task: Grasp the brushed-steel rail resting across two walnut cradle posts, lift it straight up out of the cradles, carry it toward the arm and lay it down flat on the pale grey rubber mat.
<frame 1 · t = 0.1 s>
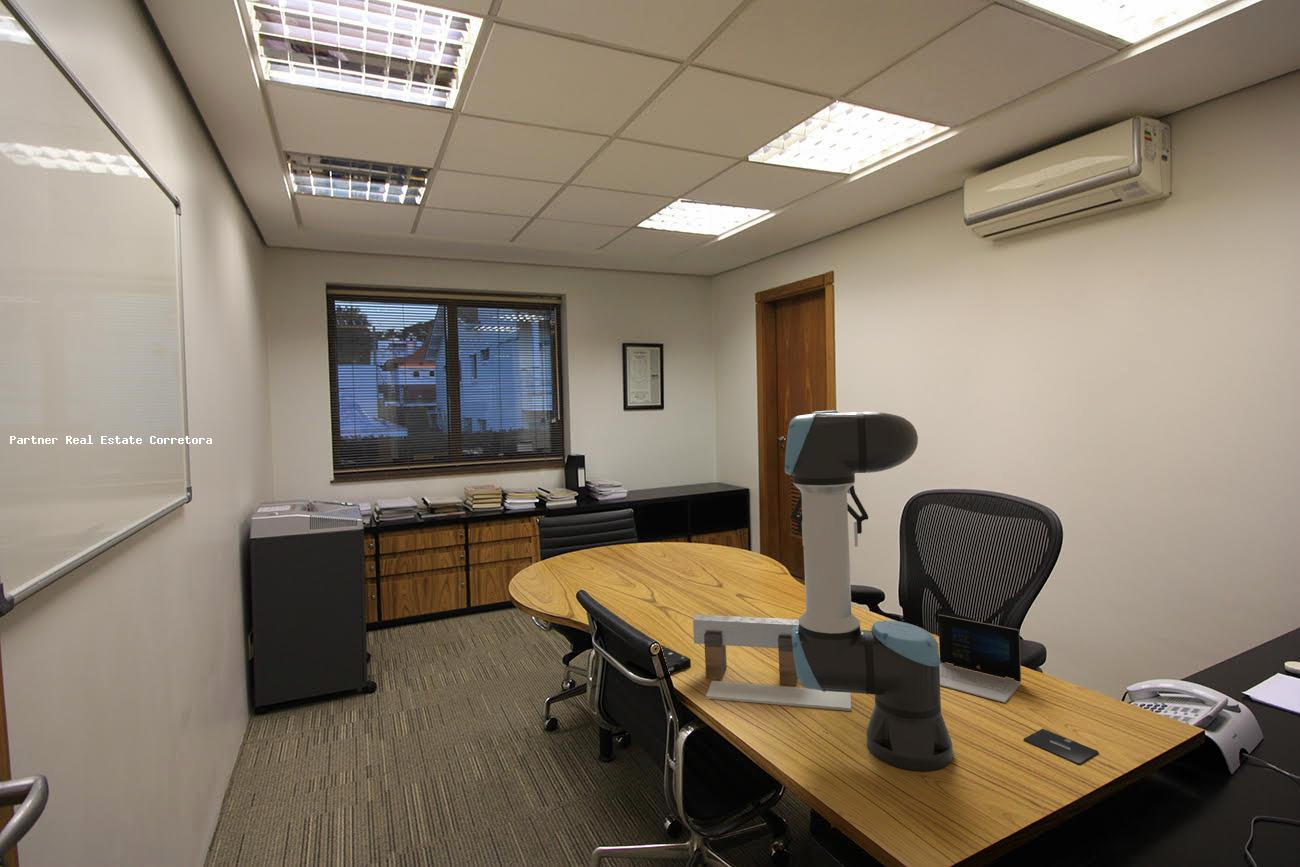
hand: (830, 545, 167), 28 cm above the table, fingers open, 13 cm apart
solid state drive: (1060, 749, 115), on the table
standard B: (716, 672, 155), on the table
rail: (750, 643, 152), point 8 cm above the table, touching standard A, standard B
disk drive: (659, 666, 162), on the table
laptop: (970, 684, 143), on the table
standard A: (789, 678, 150), on the table
mat: (777, 696, 141), on the table
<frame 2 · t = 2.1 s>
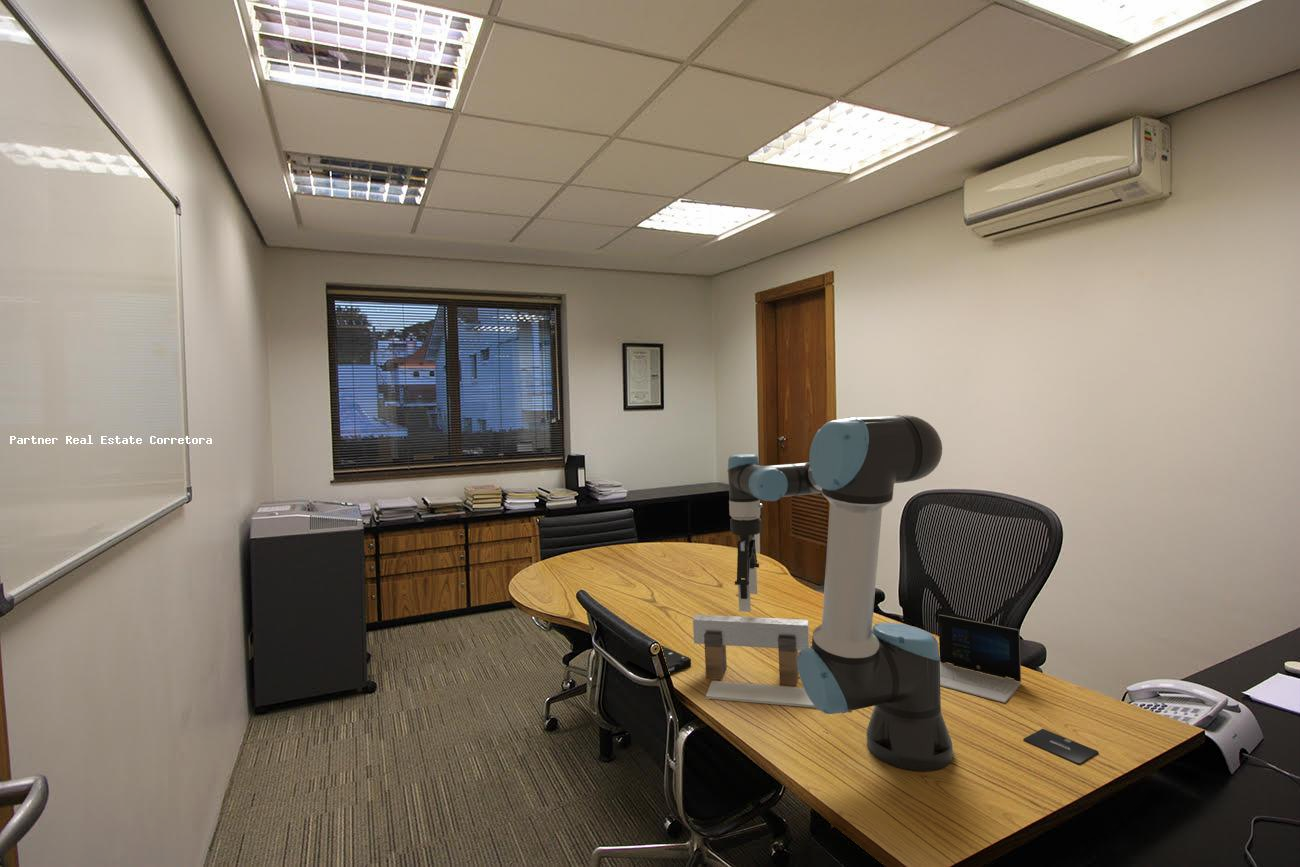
hand: (748, 602, 152), 18 cm above the table, fingers open, 13 cm apart
nothing on the table moved.
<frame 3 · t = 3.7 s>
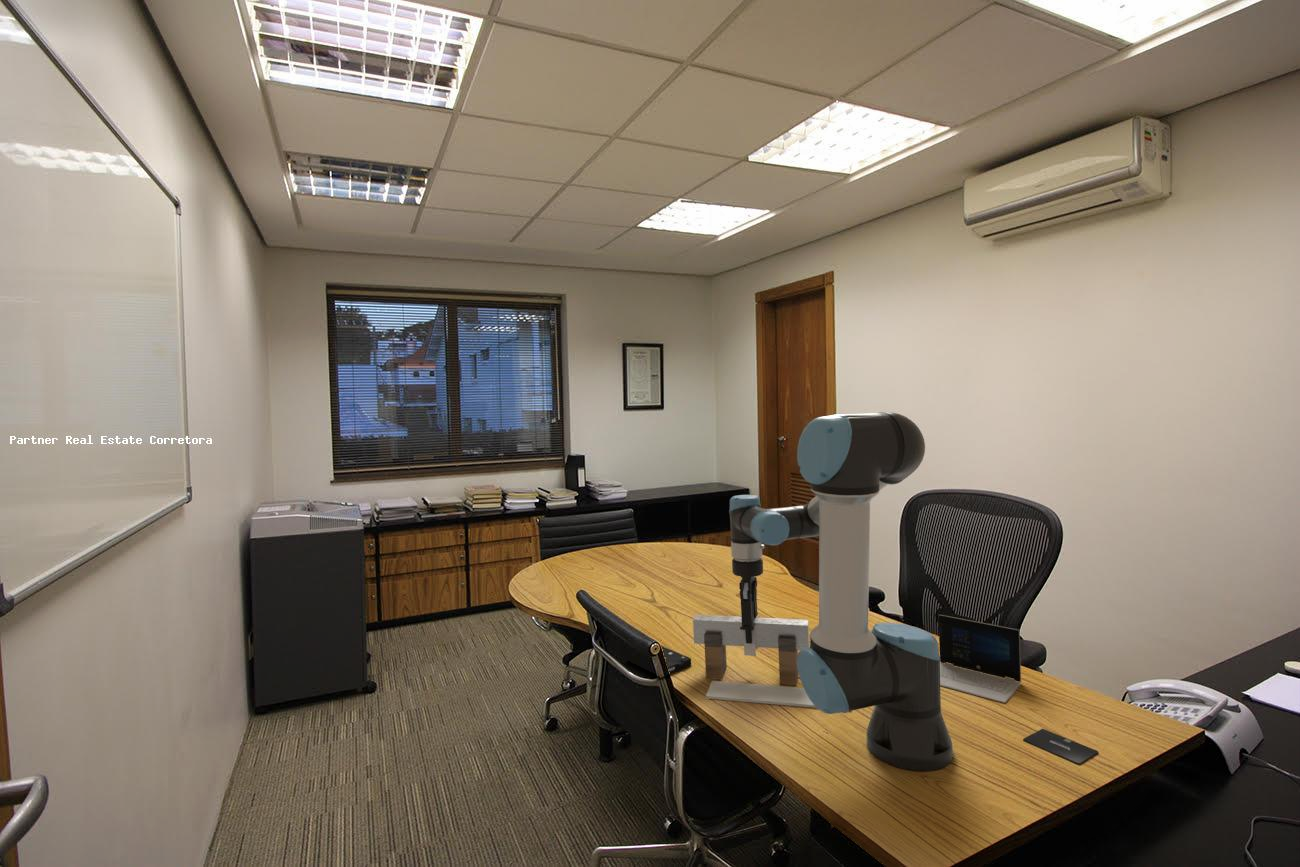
hand: (751, 651, 152), 6 cm above the table, fingers closed on rail, 4 cm apart
rail: (750, 643, 152), point 8 cm above the table, touching gripper, standard A, standard B
everything else where it was.
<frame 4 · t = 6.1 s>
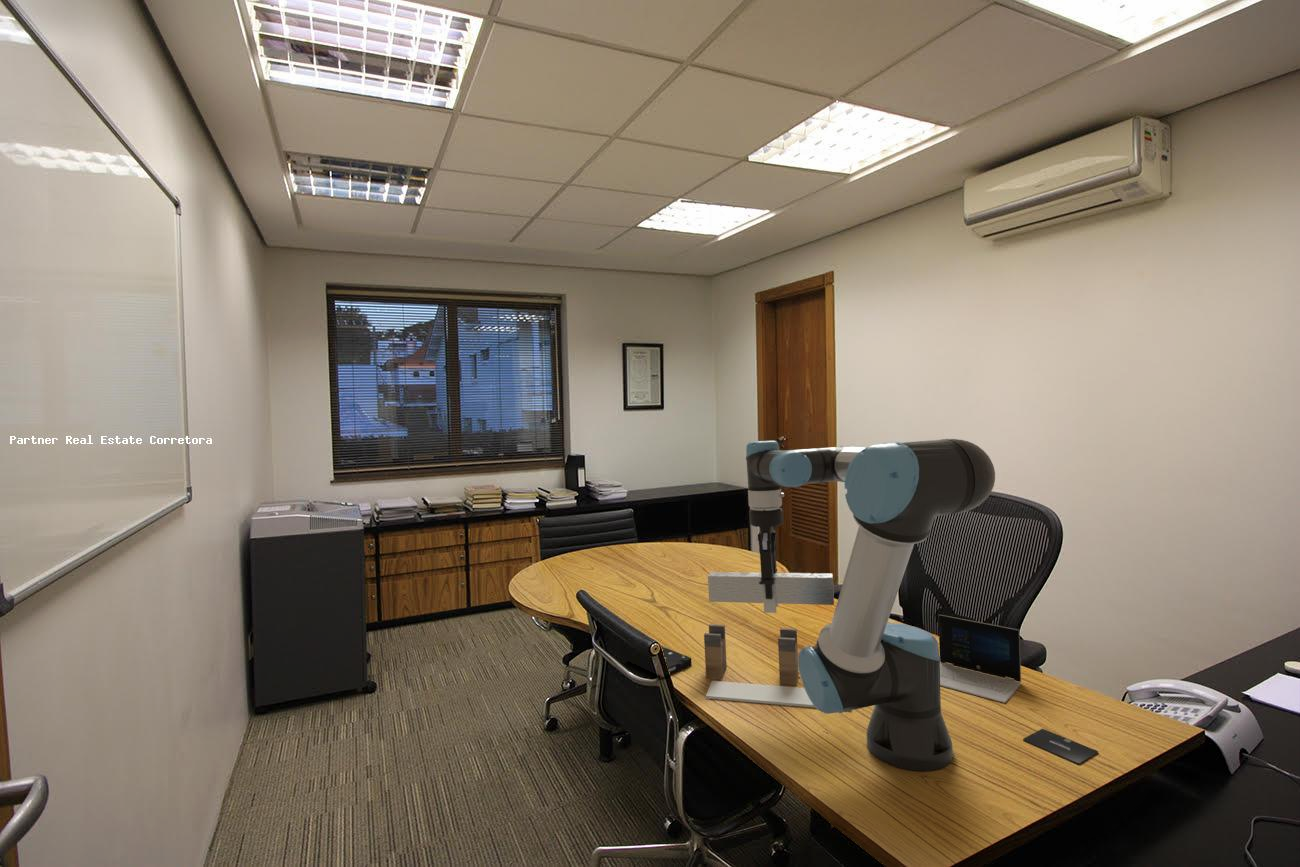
hand: (771, 608, 141), 20 cm above the table, fingers closed on rail, 4 cm apart
rail: (770, 600, 141), point 22 cm above the table, touching gripper
everything else where it was.
when the fingers open (1 cm above the table, at t = 8.8 s): rail drops 3 cm, resting on mat.
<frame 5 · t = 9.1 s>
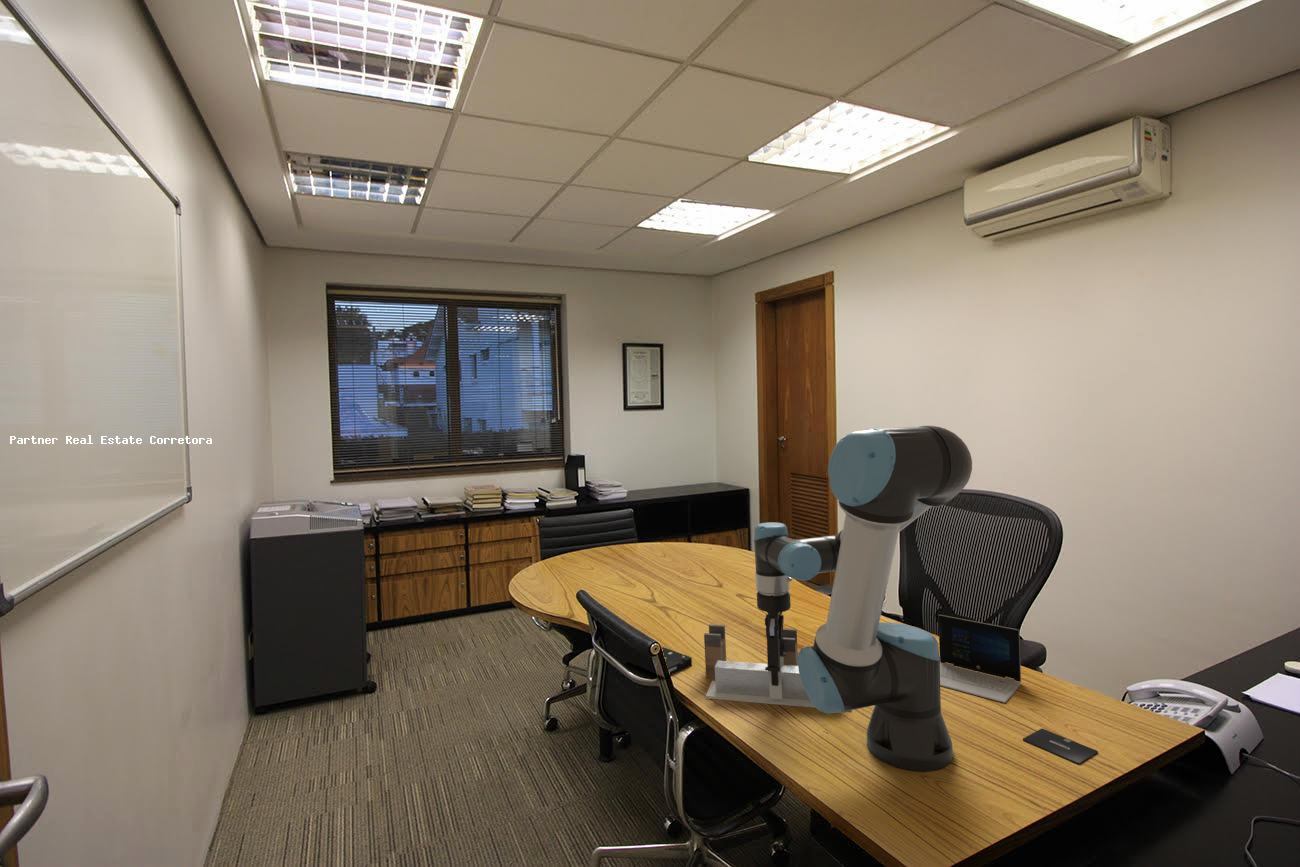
hand: (777, 691, 140), 1 cm above the table, fingers open, 6 cm apart
rail: (777, 693, 141), point 1 cm above the table, touching mat
everything else where it was.
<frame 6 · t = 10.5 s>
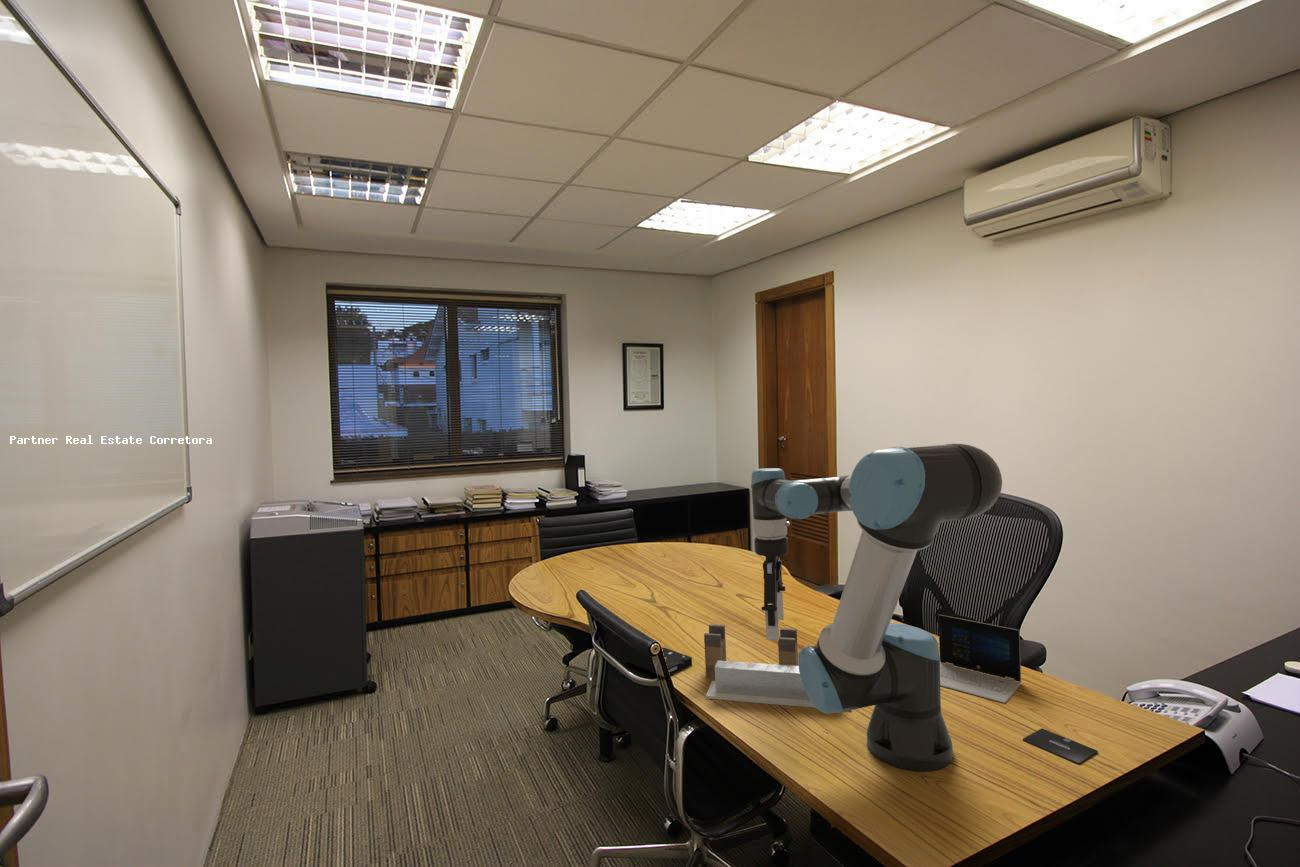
hand: (775, 629, 140), 16 cm above the table, fingers open, 13 cm apart
nothing on the table moved.
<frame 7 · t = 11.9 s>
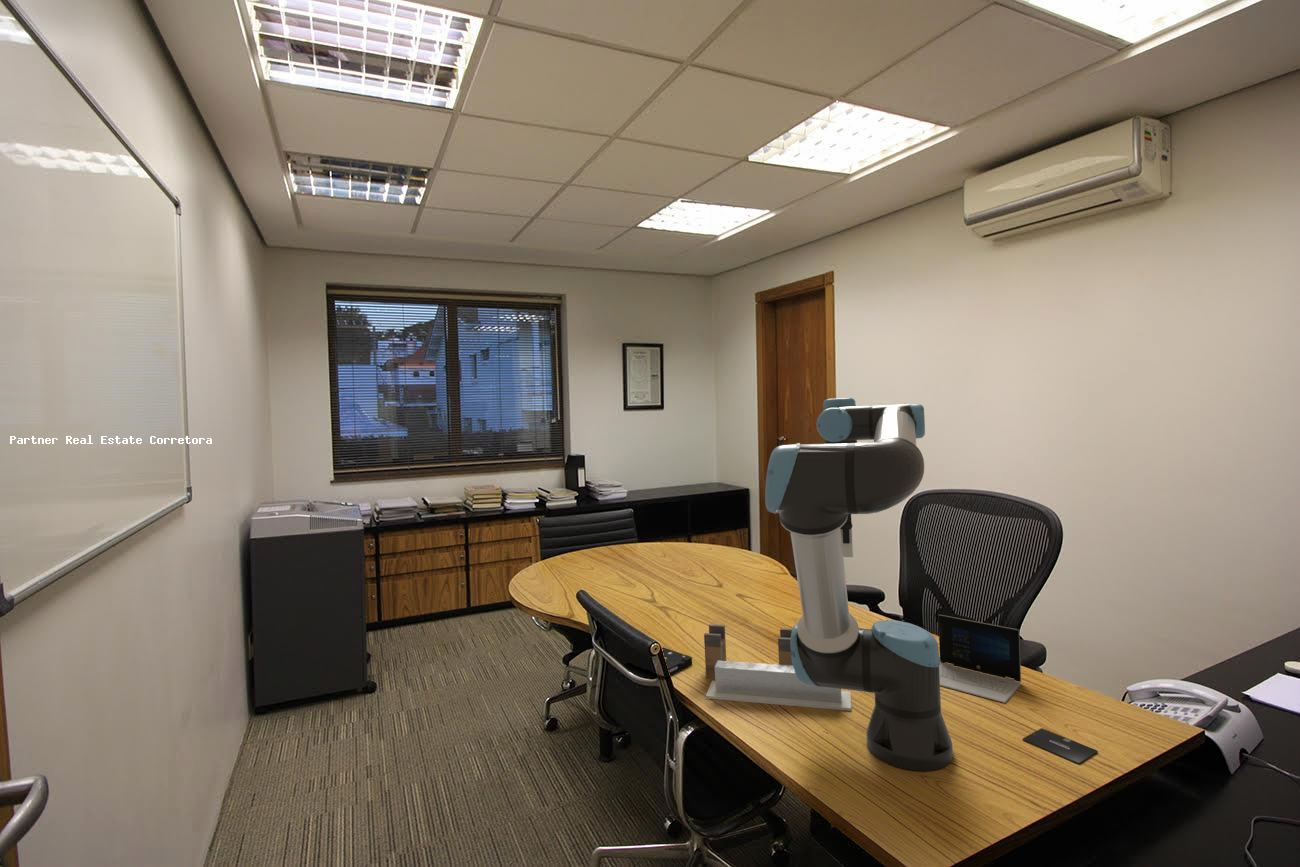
hand: (845, 549, 148), 31 cm above the table, fingers open, 13 cm apart
nothing on the table moved.
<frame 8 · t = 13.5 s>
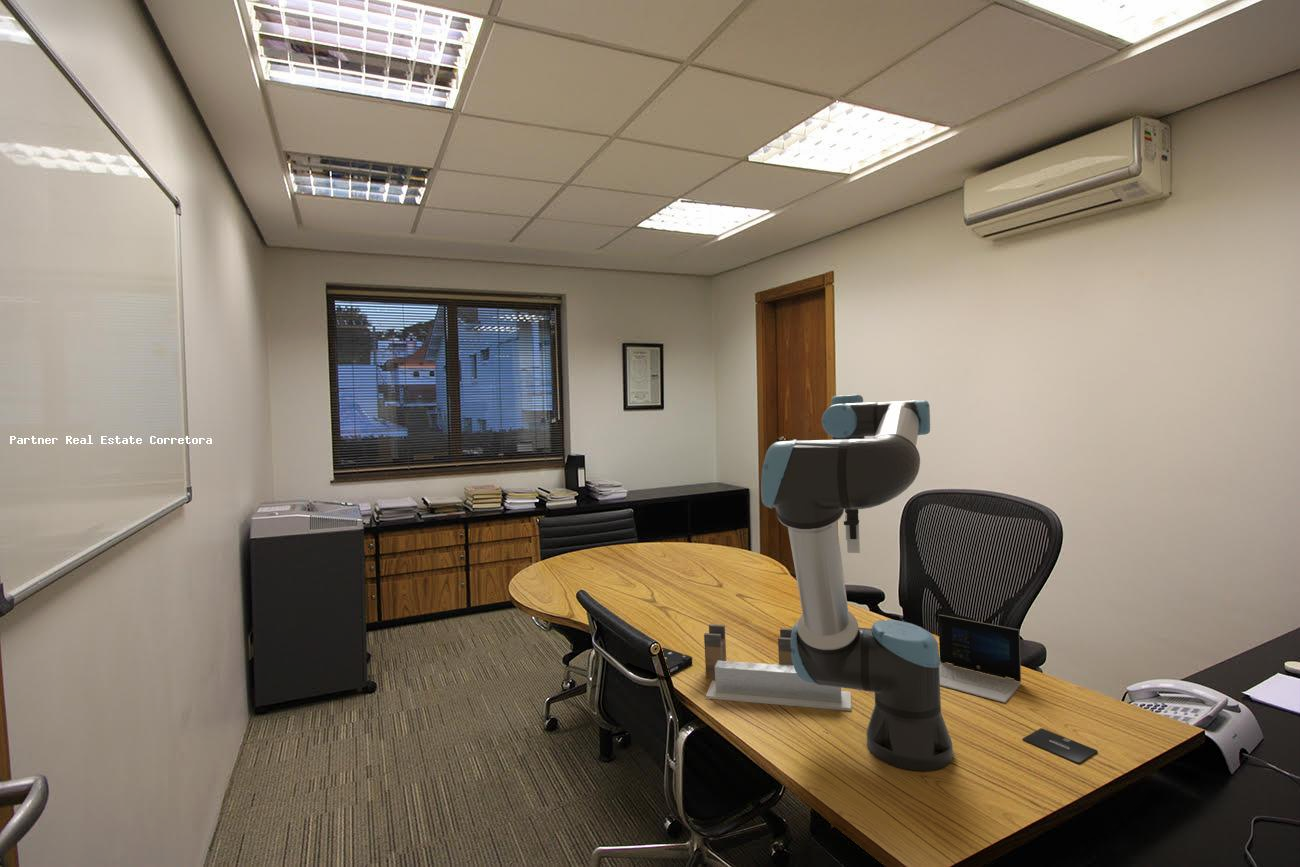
hand: (852, 546, 149), 32 cm above the table, fingers open, 13 cm apart
nothing on the table moved.
at the end: rail inside the target area on the mat (0.1 cm from its centre), point 0.6 cm above the mat's base; rail tilted 0°; the gripper is holding nothing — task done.
